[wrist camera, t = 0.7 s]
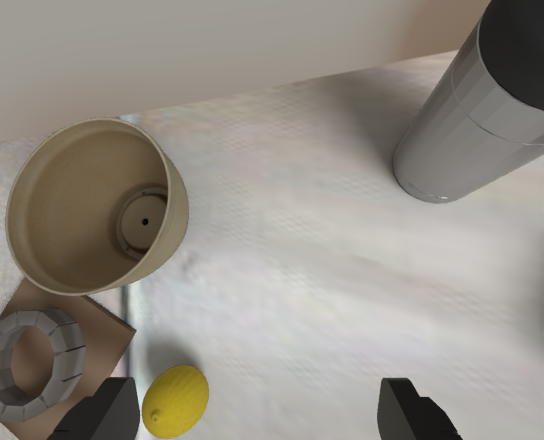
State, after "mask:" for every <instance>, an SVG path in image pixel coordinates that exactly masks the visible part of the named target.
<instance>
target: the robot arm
mask: <svg viewBox="0 0 544 440" xmlns="http://www.w3.org/2000/svg"><path fill="white" fill-rule="evenodd" d="M542 155H544V0H491V2H490V3H489V5H488V7H487V8H486V10H485V12H484V13H483V15H482V16H481V18H480V19H479V21H478V23H477V24H476V25H475V27H474V29H473V30H472V32H471V33H470V35H469V36H468V38H467V39H466V41H465V42H464V44H463V45H462V47H461V48H460V50H459V52H458V53H457V55H456V57H455V58H454V60H453V61H452V63H451V64H450V66H449V67H448V69H447V70H446V72H445V73H444V75H443V76H442V78H441V80H440V81H439V83H438V84H437V86H436V87H435V89H434V90H433V92H432V93H431V95H430V96H429V98H428V99H427V101H426V102H425V104H424V106H423V107H422V109H421V110H420V112H419V113H418V115H417V116H416V118H415V119H414V121H413V122H412V124H411V125H410V127H409V128H408V130H407V131H406V133H405V134H404V136H403V137H402V139H401V141H400V142H399V144H398V146H397V147H396V149H395V152H394V156H393V169H394V174H395V176H396V178H397V180H398V182H399V183H400V185H401V186H402V187H403V189H405V190H406V191H407V192H408V193H409V194H411V195H412V196H414V197H416V198H418V199H420V200H423V201H426V202H431V203H448V202H452V201H455V200H458V199H460V198H462V197H464V196H466V195H468V194H469V193H471V192H473V191H475V190H477V189H479V188H481V187H483V186H485V185H487V184H489V183H491V182H493V181H495V180H497V179H498V178H500V177H502V176H504V175H506V174H508V173H510V172H512V171H514V170H516V169H517V168H519V167H521V166H523V165H525V164H527V163H529V162H531V161H533V160H535V159H536V158H538V157H540V156H542ZM139 422H140V410H139V404H138V397H137V391H136V385H135V380H134V378H133V377H108V378H106V379H105V380H104V381H103V382H102V384H101V385H100V387H99V388H98V389H97V391H96V392H95V394H94V395H93V396H85V397H84V398H83V399H82V400H81V401H80V402H78V403H77V404H76V405H75V406H74V407H72V408H71V409H70V410H69V411H68V412H67V413H66V414H65V415H64V417H63V418H62V419H61V421H60V422H59V423H58V425H57V426H56V427H55V429H54V430H53V433H52V434H50V435H49V437H48V438H47V439H46V440H134V439H135V437H136V434H137V431H138V427H139ZM377 422H378V428H379V433H380V436H381V439H382V440H463V439H462V438H461V436H460V435H458V433H457V430H456V428H455V427H454V425H453V424H452V422H451V421H450V419H449V417H448V416H447V414H446V413H445V412H444V411H443V410H442V409H441V408H440V407H439V406H438V405H437V404H436V403H435V402H434V401H432V400H431V399H430V398H429V397H420V396H419V395H418V393H417V391H416V389H415V388H414V386H413V384H412V383H411V381H410V380H409V379H408V378H383V379H382V381H381V388H380V396H379V404H378V412H377Z"/></svg>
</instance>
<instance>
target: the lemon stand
mask: <svg viewBox="0 0 544 440" xmlns="http://www.w3.org/2000/svg"><path fill="white" fill-rule="evenodd" d="M135 332H136V330H135V329H133V328H132V327H131V326H129V325H128V324H126V323H125V322H124V321H122V320H121V319H119V318H118V317H116V316H115V315H114V314H112V313H111V312H109V311H108V310H107V309H105V308H104V307H102V306H101V305H99V304H98V303H97V302H95V301H94V300H92V299H91V298H90V297H88V296H87V295H81V296H67V295H59V294H55V293H51V292H49V291H46V290H44V289H42V288H40V287H38V286H37V285H35V284H34V283H32V282H31V281H30V280H29V279H28V278H27V277H26V276H25V278H24V280H23V281H22V283H21V284H20V286H19V287H18V289H17V290H16V292H15V293H14V295H13V297H12V298H11V300H10V301H9V303H8V304H7V306H6V307H5V309H4V311H3V312H2V314H1V315H0V422H1V423H2V424H3V425H4V426H5V427H6V428H7V429H8V430H10V431H11V432H12V433H13V434H14V435H15V436H16V437H17V438H18V439H19V440H46V439H47V438H48V437H49V435H50V434H52V433H53V430H54V429H55V427H56V426H57V425H58V423H59V422H60V421H61V419H62V418H63V417H64V415H65V414H66V413H67V412H68V411H69V410H70V409H71V408H72V407H74V406H75V405H76V404H77V403H78V402H80V401H81V400H82V399H83V398H84V397H85V396H93V395H94V394H95V392H96V391H97V389H98V388H99V387H100V385H101V384H102V382H103V381H104V380H105V379H106V378H108V377H110V375H111V373H112V372H113V370H114V368H115V367H116V365H117V363H118V362H119V360H120V358H121V356H122V355H123V353H124V351H125V350H126V348H127V346H128V344H129V343H130V341H131V339H132V338H133V336H134V334H135Z"/></svg>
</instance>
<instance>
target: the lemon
mask: <svg viewBox="0 0 544 440" xmlns="http://www.w3.org/2000/svg"><path fill="white" fill-rule="evenodd" d="M208 397H209V388H208V383H207V380H206V378H205V376H204V375H203V373H202V372H201V371H199V370H198V369H197V368H195V367H193V366H188V365H181V366H175V367H173V368H171V369H168V370H166V371H165V372H164V373H162V374H161V375H160V376H159V377H157V378H156V379H155V381H154V382H153V383H152V385H151V386H150V387H149V389H148V390H147V393H146V395H145V397H144V399H143V404H142V419H143V423H144V425H145V427H146V428H147V430H148V431H149V432H150V433H151V434H152V435H154V436H156V437H158V438H162V439H170V438H174V437H177V436H180V435H181V434H183V433H185V432H187V431H188V430H190V429H191V428H192V427H193V426H194V425H195V424H196V423H197V422H198V420H199V419H200V418H201V416H202V414H203V412H204V411H205V408H206V405H207V402H208Z"/></svg>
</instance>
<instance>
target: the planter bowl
mask: <svg viewBox="0 0 544 440" xmlns="http://www.w3.org/2000/svg"><path fill="white" fill-rule="evenodd" d="M188 218H189V204H188V197H187V192H186V189H185V186H184V183H183V180H182V178H181V176H180V174H179V172H178V171H177V169H176V167H175V166H174V164H173V163H172V162H171V160H170V159H169V158H168V157H167V155H166V154H165V153H164V152H163V151H162V149H161V148H160V146H159V145H158V144H157V143H156V142H155V141H154V140H153V139H152V138H151V137H150V136H149V135H148V134H147V133H146V132H145V131H143V130H142V129H141V128H139V127H138V126H136V125H134V124H132V123H129V122H127V121H124V120H120V119H116V118H106V117H103V118H90V119H86V120H81V121H78V122H75V123H73V124H70V125H68V126H66V127H64V128H62V129H60V130H58V131H57V132H55V133H54V134H52V135H51V136H50V137H48V138H47V139H46V140H45V141H44V142H43V143H42V144H40V146H39V147H38V148H37V149H35V151H34V152H33V153H32V154H31V155H30V156H29V158H28V159H27V161H26V162H25V163H24V165H23V166H22V168H21V170H20V171H19V173H18V175H17V177H16V179H15V181H14V183H13V186H12V188H11V191H10V194H9V198H8V202H7V208H6V217H5V230H6V237H7V242H8V246H9V249H10V252H11V255H12V257H13V259H14V261H15V263H16V264H17V266H18V268H19V269H20V270H21V272H22V273H23V274H24V275H25V276H26V277H27V278H28V279H29V280H30V281H31V282H32V283H34V284H35V285H37V286H38V287H40V288H42V289H44V290H46V291H49V292H51V293H55V294H59V295H67V296H81V295H89V294H95V293H99V292H102V291H105V290H108V289H113V288H118V287H121V286H125V285H128V284H131V283H133V282H136V281H138V280H140V279H142V278H144V277H146V276H148V275H149V274H151V273H153V272H154V271H155V270H157V269H158V268H159V267H161V266H162V265H163V264H164V263H165V262H166V261H167V260H168V259H169V258H170V257H171V256H172V255H173V254H174V252H175V251H176V250H177V248H178V247H179V245H180V243H181V242H182V240H183V238H184V235H185V233H186V229H187V224H188ZM144 219H147V220H148V224H147V225H144V224H143V221H144Z"/></svg>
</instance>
